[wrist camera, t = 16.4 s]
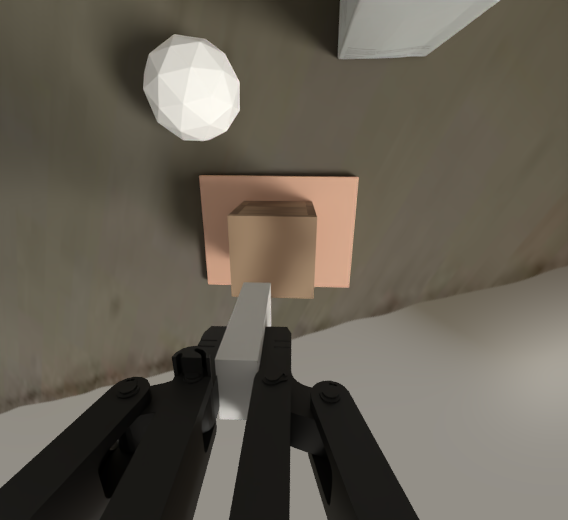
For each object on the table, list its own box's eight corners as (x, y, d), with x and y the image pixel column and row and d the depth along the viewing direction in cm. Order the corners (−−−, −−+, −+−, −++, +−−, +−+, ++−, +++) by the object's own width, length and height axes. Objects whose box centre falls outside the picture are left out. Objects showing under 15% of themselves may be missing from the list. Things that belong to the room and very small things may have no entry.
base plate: (210, 280, 35) (208, 284, 34) (202, 174, 31) (199, 175, 30) (347, 283, 35) (348, 287, 34) (356, 176, 31) (358, 177, 30)
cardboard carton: (246, 264, 33) (231, 296, 26) (244, 200, 31) (227, 215, 23) (309, 265, 33) (313, 298, 25) (311, 201, 31) (317, 217, 23)
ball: (199, 86, 31) (157, -1, 23) (265, 108, 29) (243, 21, 21) (158, 143, 29) (99, 70, 22) (224, 171, 27) (184, 101, 20)
